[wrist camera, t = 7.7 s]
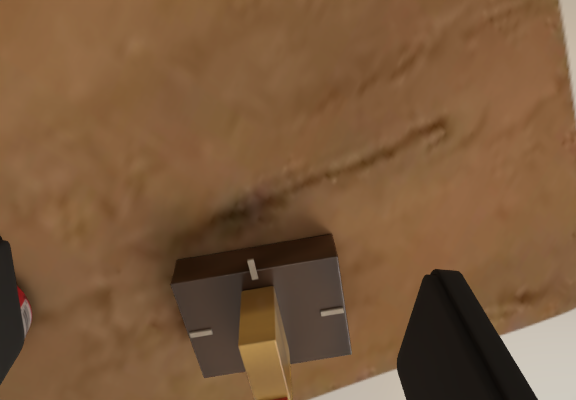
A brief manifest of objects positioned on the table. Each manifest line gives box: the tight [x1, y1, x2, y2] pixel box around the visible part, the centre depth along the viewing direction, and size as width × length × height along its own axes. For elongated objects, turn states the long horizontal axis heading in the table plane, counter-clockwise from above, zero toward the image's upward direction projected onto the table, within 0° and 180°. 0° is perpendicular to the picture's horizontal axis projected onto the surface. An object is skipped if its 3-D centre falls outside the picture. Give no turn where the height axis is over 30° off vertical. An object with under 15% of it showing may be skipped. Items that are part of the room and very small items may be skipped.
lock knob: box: [238, 286, 293, 400], centre depth 28 cm, size 6×2×5 cm, turn 10°
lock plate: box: [170, 234, 352, 378], centre depth 31 cm, size 10×10×3 cm
